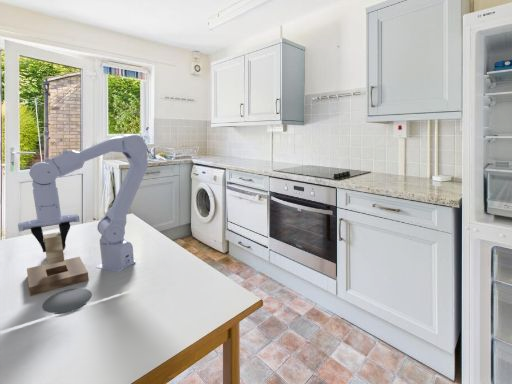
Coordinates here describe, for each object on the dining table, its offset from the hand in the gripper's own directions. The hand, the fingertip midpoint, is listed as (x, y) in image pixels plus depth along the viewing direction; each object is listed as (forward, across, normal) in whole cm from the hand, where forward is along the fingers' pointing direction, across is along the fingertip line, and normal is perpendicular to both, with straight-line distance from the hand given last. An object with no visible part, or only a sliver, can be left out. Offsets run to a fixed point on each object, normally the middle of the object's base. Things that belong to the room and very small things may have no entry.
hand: (54, 249), depth 88 cm
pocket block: (+10, 0, 0) cm, 10 cm away
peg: (+4, 0, 0) cm, 4 cm away
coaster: (+10, -1, +15) cm, 18 cm away
